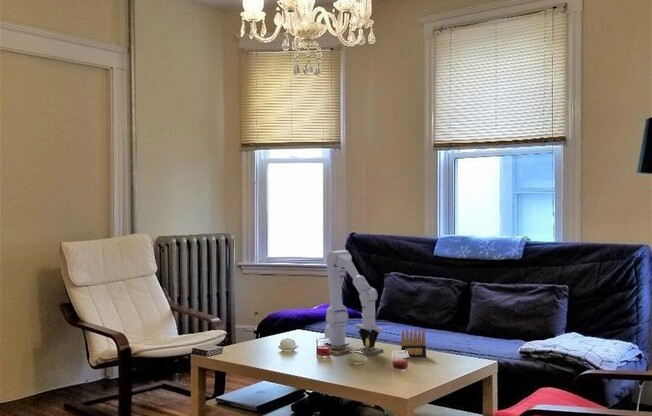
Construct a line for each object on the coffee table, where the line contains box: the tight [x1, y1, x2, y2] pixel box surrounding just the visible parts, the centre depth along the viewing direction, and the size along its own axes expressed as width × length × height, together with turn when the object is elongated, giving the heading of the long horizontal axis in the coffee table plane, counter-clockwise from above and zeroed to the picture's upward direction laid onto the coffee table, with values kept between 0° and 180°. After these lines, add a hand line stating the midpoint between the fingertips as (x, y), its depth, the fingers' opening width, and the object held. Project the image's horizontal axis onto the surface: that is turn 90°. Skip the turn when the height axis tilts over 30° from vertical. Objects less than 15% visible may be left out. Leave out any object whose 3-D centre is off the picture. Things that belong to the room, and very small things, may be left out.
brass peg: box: [364, 336, 373, 351], centre depth 291 cm, size 3×3×6 cm
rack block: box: [330, 346, 352, 357], centre depth 291 cm, size 9×9×1 cm
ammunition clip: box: [400, 328, 427, 358], centre depth 282 cm, size 11×2×12 cm, turn 91°
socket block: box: [354, 346, 384, 356], centre depth 291 cm, size 9×9×1 cm
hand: (368, 346), depth 291 cm, fingers closed on brass peg, 3 cm apart
